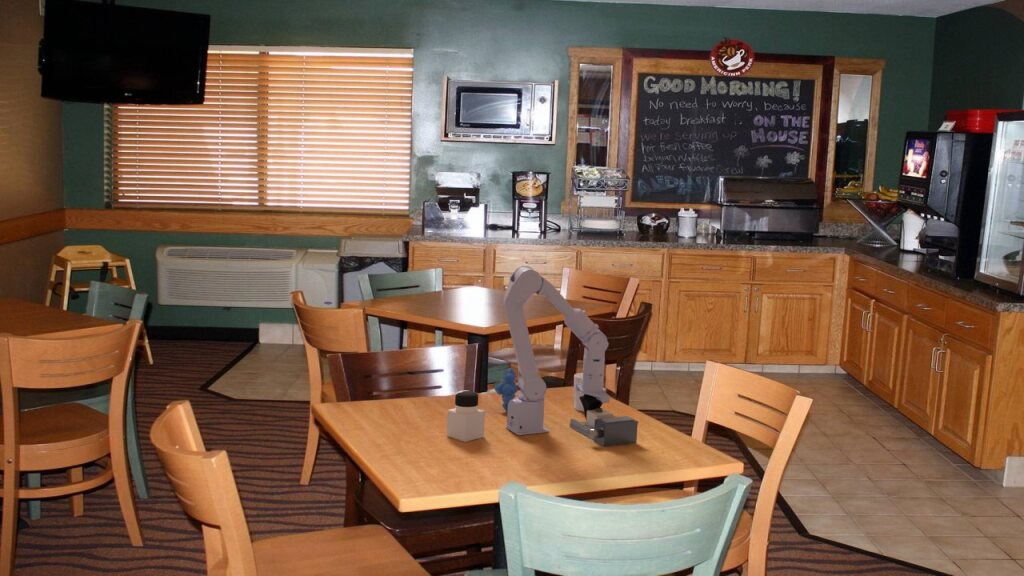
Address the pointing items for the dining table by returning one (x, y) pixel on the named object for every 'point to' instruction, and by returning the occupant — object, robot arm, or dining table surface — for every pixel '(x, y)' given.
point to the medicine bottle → (465, 417)
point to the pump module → (596, 416)
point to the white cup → (578, 392)
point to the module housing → (609, 430)
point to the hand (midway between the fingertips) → (590, 422)
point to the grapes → (507, 388)
